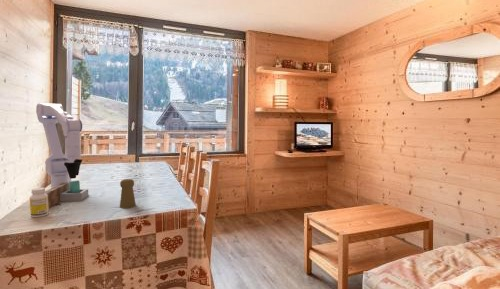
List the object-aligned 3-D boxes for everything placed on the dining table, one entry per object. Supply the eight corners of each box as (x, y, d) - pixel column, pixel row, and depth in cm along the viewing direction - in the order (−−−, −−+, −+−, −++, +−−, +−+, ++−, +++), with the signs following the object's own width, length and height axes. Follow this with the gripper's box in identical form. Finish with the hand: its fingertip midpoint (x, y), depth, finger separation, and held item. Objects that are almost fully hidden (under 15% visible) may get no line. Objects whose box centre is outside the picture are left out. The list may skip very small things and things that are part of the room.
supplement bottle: (36, 213, 109) (35, 187, 108) (52, 212, 109) (50, 187, 109) (27, 217, 104) (25, 190, 103) (43, 217, 104) (41, 190, 103)
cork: (130, 208, 115) (129, 181, 114) (116, 207, 116) (115, 180, 115) (138, 204, 121) (138, 178, 120) (125, 203, 122) (125, 177, 121)
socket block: (67, 197, 134) (67, 189, 134) (88, 196, 136) (88, 188, 135) (60, 202, 125) (59, 194, 125) (81, 201, 127) (81, 193, 127)
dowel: (76, 195, 133) (76, 180, 133) (82, 196, 131) (81, 180, 131) (68, 197, 130) (67, 181, 129) (73, 198, 128) (72, 182, 127)
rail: (63, 195, 135) (62, 182, 135) (69, 195, 136) (68, 182, 135) (39, 209, 114) (39, 194, 113) (47, 209, 114) (46, 193, 114)
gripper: (65, 145, 134) (66, 174, 135) (59, 148, 121) (60, 180, 122) (83, 145, 137) (84, 173, 138) (78, 147, 123) (79, 179, 125)
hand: (74, 176), depth 130 cm, fingers open, 7 cm apart
